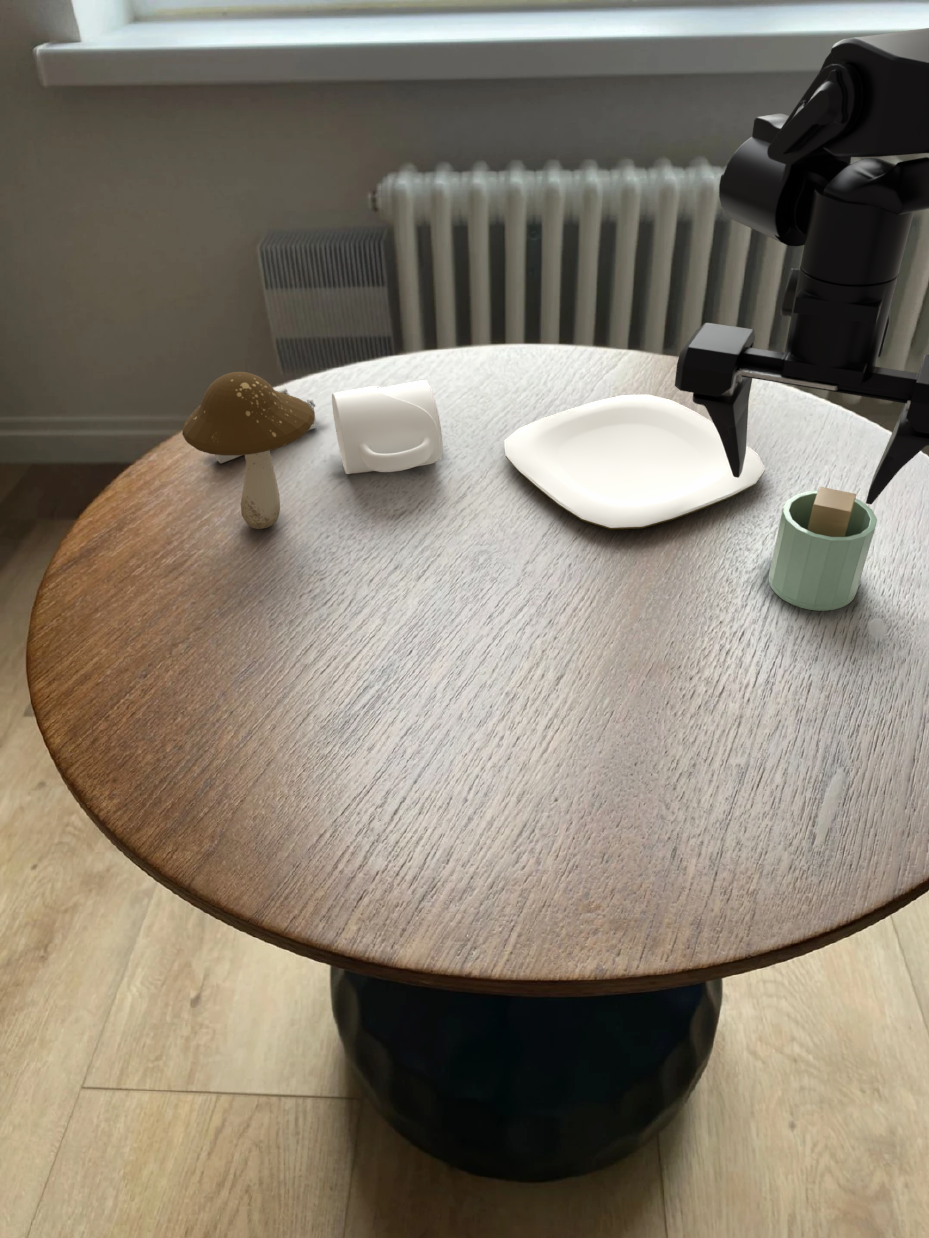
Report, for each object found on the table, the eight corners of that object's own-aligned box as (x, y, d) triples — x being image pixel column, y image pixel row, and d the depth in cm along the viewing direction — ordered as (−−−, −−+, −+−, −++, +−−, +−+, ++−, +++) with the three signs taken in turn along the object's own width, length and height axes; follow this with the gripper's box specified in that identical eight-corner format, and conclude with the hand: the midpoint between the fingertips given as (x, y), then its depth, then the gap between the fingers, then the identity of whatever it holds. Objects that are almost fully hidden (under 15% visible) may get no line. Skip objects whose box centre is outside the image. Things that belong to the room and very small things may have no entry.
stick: (834, 574, 81) (856, 493, 76) (829, 593, 79) (851, 512, 74) (800, 566, 82) (819, 486, 77) (794, 585, 80) (813, 504, 75)
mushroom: (338, 538, 88) (316, 388, 78) (211, 562, 86) (173, 410, 76) (321, 487, 95) (299, 342, 85) (203, 508, 93) (167, 362, 83)
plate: (479, 450, 99) (479, 436, 98) (649, 396, 107) (650, 381, 106) (605, 557, 84) (606, 541, 83) (790, 485, 92) (793, 469, 91)
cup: (861, 570, 82) (882, 501, 77) (849, 619, 77) (869, 548, 73) (778, 551, 84) (793, 483, 80) (760, 598, 80) (775, 528, 75)
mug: (337, 446, 101) (327, 375, 96) (424, 432, 102) (419, 362, 97) (354, 507, 92) (345, 433, 87) (450, 491, 93) (446, 417, 88)
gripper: (1023, 244, 61) (953, 459, 71) (730, 214, 68) (703, 414, 78) (1014, 308, 54) (937, 539, 64) (685, 267, 60) (662, 482, 70)
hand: (802, 487), depth 69 cm, fingers open, 9 cm apart
